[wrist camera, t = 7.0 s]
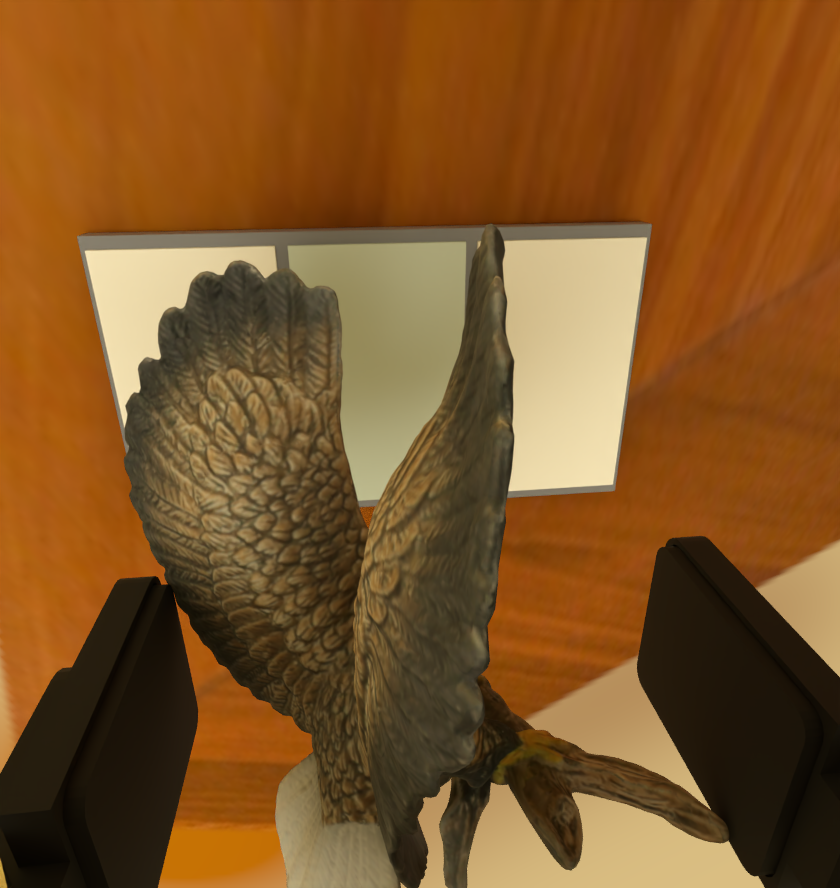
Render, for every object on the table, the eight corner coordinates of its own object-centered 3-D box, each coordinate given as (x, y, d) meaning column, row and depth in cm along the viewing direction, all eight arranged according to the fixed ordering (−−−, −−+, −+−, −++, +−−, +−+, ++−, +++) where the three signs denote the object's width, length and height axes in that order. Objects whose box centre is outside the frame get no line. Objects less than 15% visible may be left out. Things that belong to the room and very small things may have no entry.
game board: (641, 221, 22) (654, 224, 21) (606, 481, 26) (616, 493, 25) (86, 233, 20) (74, 237, 19) (147, 509, 24) (140, 524, 23)
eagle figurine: (737, 593, 11) (606, 87, 6) (725, 1144, 7) (257, 1003, 2) (392, 577, 16) (138, 265, 10) (250, 922, 11) (-315, 682, 6)
